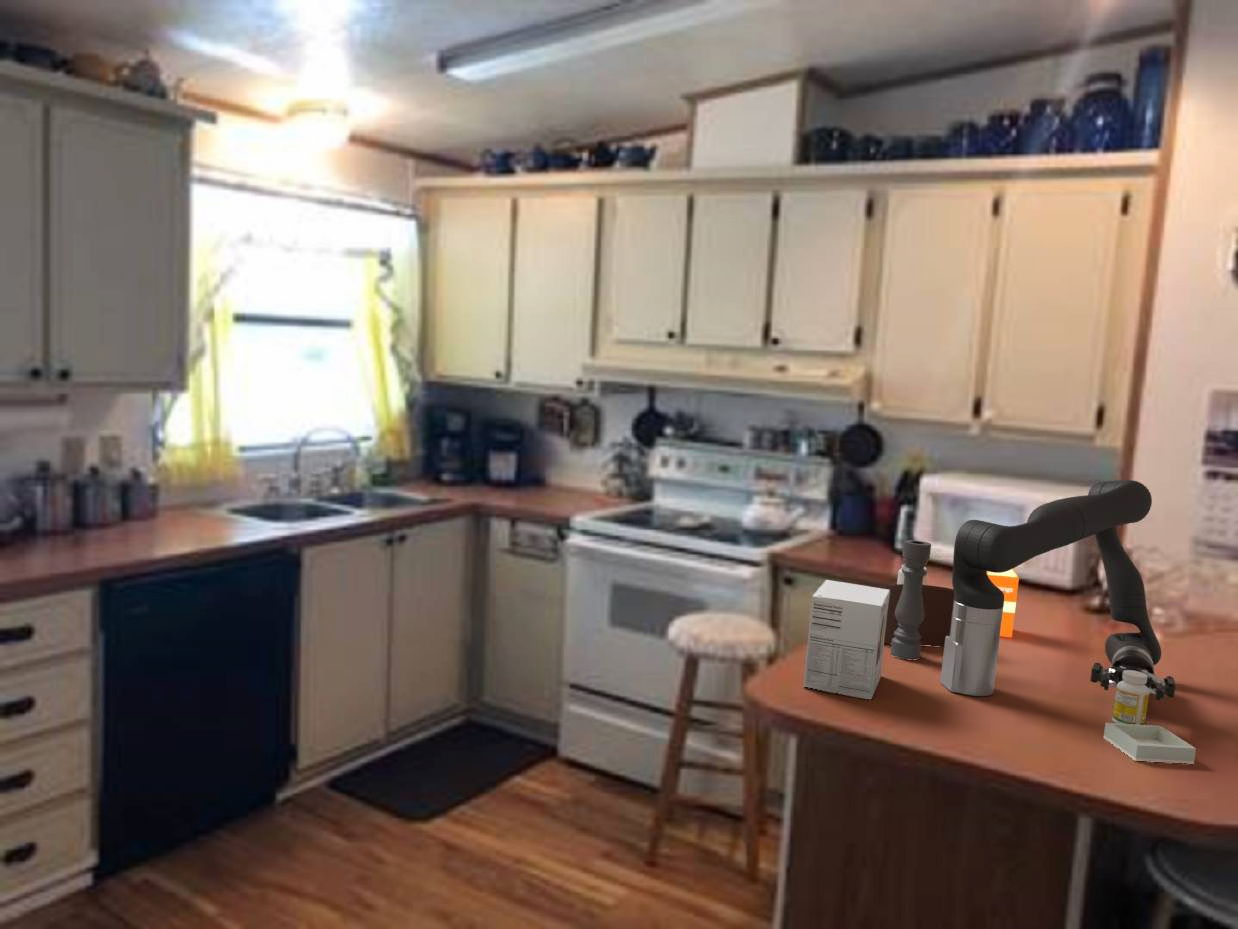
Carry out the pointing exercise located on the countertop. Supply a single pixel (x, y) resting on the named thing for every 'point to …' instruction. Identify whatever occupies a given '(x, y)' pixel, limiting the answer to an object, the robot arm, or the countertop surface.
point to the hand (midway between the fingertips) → (1132, 689)
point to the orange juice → (1006, 598)
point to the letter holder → (935, 611)
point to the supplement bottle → (1131, 699)
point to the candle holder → (911, 601)
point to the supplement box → (846, 639)
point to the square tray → (1149, 743)
